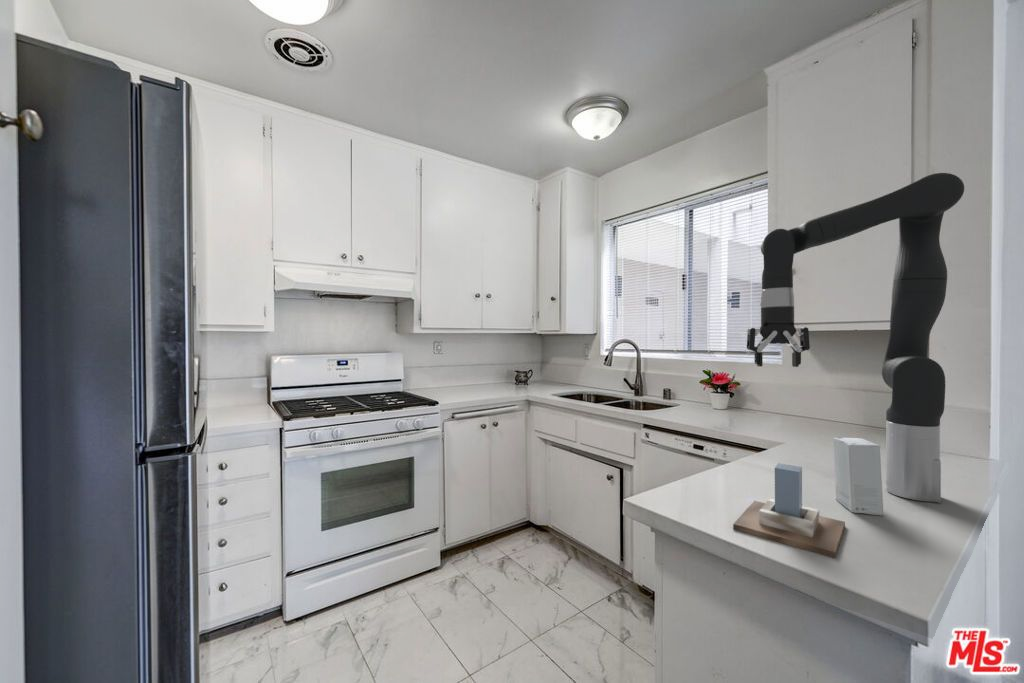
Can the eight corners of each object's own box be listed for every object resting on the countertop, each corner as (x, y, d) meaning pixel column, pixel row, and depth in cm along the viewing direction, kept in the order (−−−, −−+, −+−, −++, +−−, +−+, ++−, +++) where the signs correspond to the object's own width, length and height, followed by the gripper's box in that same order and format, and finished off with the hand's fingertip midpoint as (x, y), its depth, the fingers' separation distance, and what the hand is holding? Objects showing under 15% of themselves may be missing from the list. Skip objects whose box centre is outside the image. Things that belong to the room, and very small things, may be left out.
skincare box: (884, 516, 87) (884, 446, 87) (849, 513, 89) (849, 444, 89) (863, 501, 95) (863, 437, 95) (832, 498, 97) (832, 435, 97)
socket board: (844, 526, 82) (844, 509, 82) (835, 557, 71) (835, 537, 71) (754, 505, 93) (754, 489, 93) (733, 528, 82) (733, 511, 82)
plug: (802, 522, 82) (802, 467, 82) (799, 529, 79) (799, 472, 79) (778, 516, 85) (778, 463, 85) (774, 522, 82) (774, 467, 82)
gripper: (752, 305, 109) (752, 367, 109) (814, 304, 105) (814, 367, 105) (743, 307, 116) (743, 365, 116) (801, 306, 113) (801, 365, 113)
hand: (777, 366), depth 111 cm, fingers open, 8 cm apart
